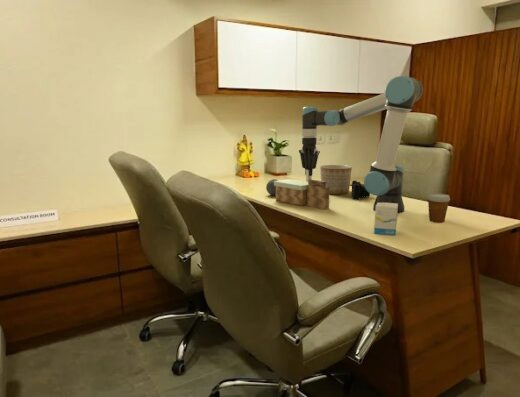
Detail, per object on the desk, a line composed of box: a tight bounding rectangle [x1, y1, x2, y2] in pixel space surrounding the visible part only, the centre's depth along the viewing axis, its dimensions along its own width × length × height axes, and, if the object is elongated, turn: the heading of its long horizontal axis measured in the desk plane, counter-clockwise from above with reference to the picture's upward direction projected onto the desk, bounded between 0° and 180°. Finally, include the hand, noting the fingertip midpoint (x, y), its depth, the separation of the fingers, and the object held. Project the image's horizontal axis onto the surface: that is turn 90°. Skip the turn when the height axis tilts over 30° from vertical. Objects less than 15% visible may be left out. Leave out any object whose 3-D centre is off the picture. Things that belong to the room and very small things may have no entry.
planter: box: [319, 164, 353, 196], centre depth 248 cm, size 19×19×16 cm
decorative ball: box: [265, 179, 280, 197], centre depth 241 cm, size 10×10×10 cm
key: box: [308, 179, 326, 187], centre depth 207 cm, size 10×2×2 cm, turn 42°
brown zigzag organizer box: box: [275, 185, 330, 210], centre depth 216 cm, size 34×9×12 cm, turn 42°
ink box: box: [373, 202, 398, 236], centre depth 163 cm, size 9×8×12 cm
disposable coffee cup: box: [426, 193, 451, 224], centre depth 179 cm, size 10×10×12 cm
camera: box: [351, 180, 371, 201], centre depth 232 cm, size 14×11×10 cm
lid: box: [274, 178, 309, 190], centre depth 220 cm, size 21×11×2 cm, turn 42°
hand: (308, 181), depth 212 cm, fingers closed
